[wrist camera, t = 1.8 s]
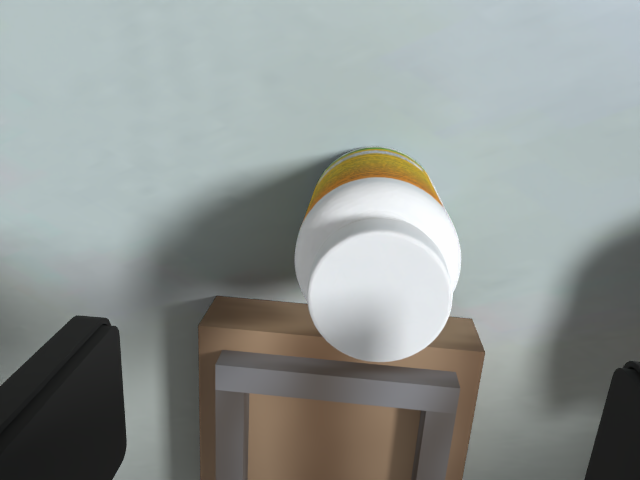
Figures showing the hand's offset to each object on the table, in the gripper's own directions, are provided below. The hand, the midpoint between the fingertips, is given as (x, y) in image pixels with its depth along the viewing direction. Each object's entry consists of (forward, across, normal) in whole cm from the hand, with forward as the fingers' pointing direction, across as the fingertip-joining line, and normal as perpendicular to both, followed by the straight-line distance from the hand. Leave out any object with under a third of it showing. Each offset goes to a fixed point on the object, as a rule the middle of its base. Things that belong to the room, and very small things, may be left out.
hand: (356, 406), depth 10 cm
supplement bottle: (+15, -1, 0) cm, 15 cm away
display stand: (+14, 0, +11) cm, 18 cm away
